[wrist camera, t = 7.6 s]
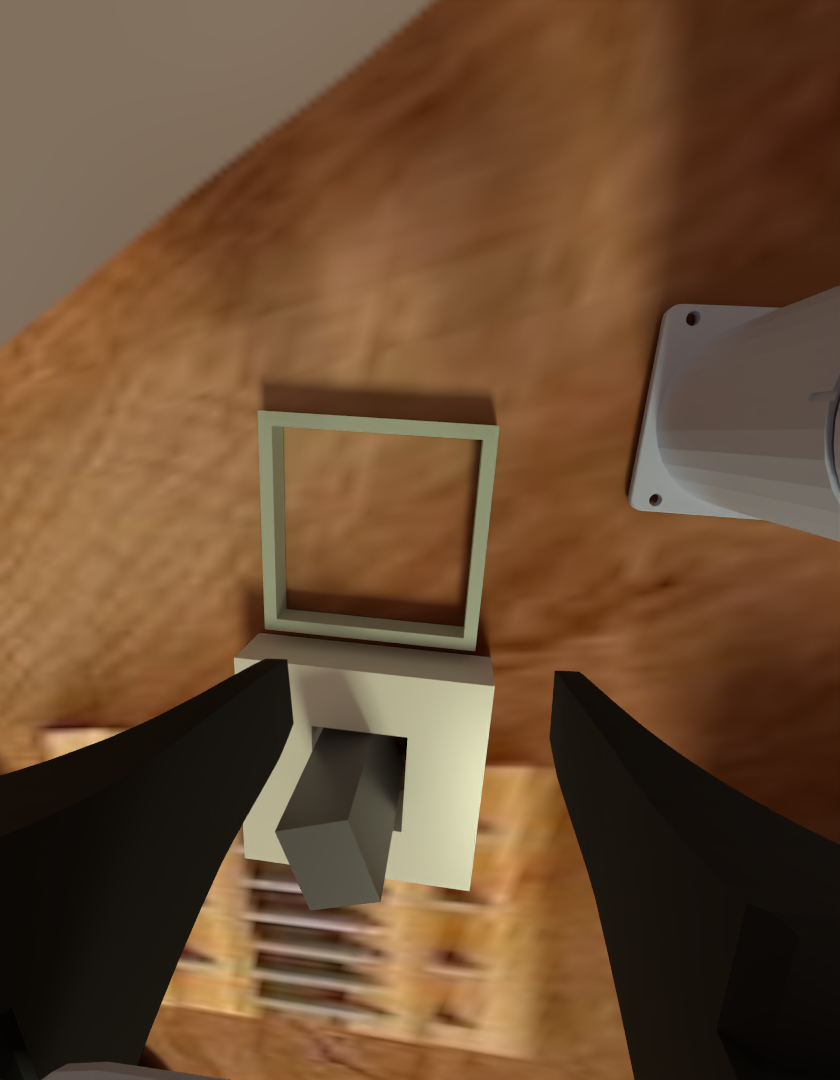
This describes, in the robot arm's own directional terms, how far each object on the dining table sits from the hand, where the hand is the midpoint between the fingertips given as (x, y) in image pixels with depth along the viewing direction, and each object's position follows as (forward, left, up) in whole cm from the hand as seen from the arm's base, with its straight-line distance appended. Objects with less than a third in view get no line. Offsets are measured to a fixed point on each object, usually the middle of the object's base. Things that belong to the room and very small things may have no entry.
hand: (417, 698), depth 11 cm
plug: (+3, +10, -9) cm, 14 cm away
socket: (+3, +10, -9) cm, 14 cm away
